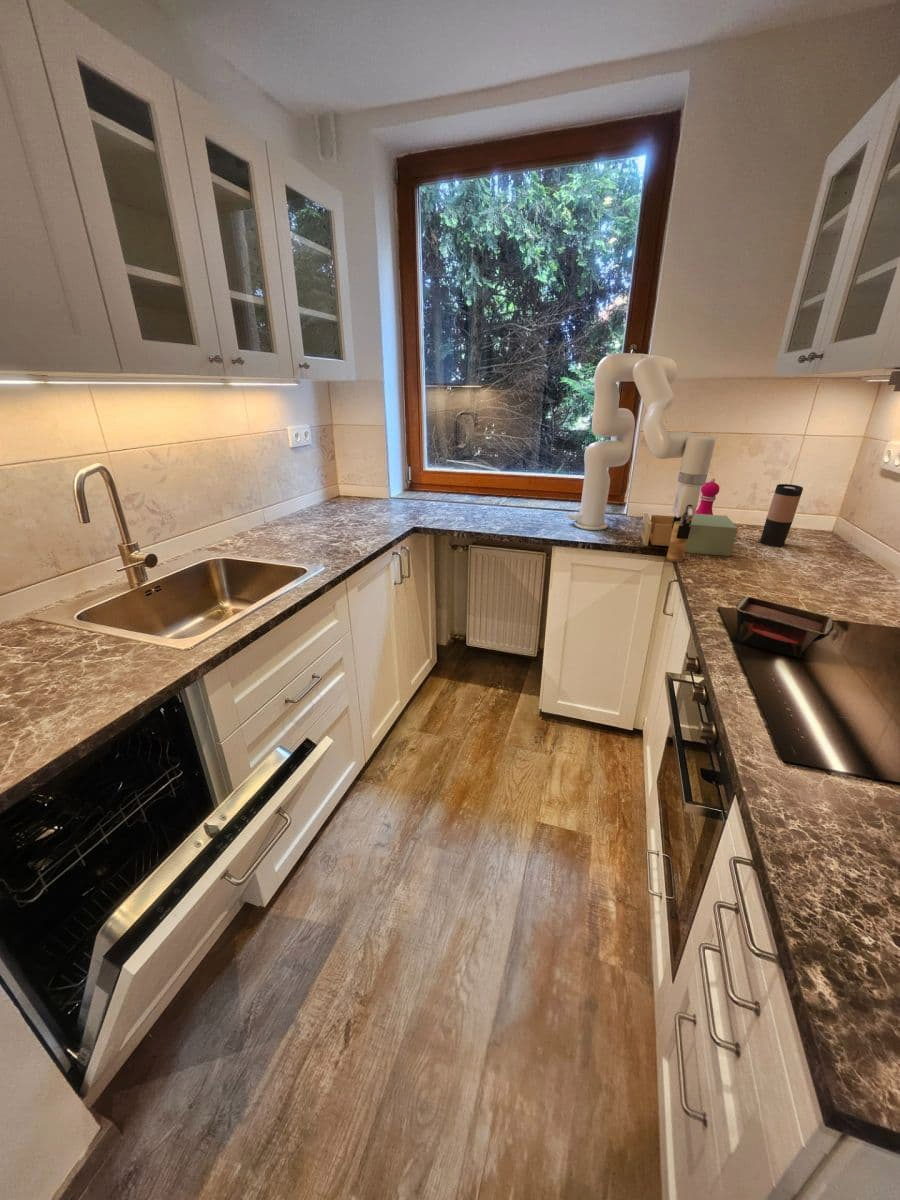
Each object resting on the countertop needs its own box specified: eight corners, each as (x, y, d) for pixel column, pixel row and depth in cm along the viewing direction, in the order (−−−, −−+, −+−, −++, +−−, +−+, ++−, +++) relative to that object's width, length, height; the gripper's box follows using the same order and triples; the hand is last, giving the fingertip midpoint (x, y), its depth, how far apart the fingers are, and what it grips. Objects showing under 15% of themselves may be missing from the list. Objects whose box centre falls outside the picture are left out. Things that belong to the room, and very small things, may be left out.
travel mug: (762, 538, 171) (780, 482, 162) (787, 543, 166) (806, 486, 157) (756, 543, 166) (773, 486, 158) (781, 548, 161) (800, 490, 153)
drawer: (630, 544, 162) (634, 522, 158) (628, 532, 173) (631, 512, 170) (686, 549, 158) (691, 526, 154) (679, 536, 169) (684, 515, 166)
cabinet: (682, 552, 158) (688, 524, 154) (675, 538, 171) (681, 512, 166) (729, 556, 155) (737, 528, 150) (719, 542, 167) (726, 515, 163)
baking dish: (745, 625, 117) (748, 588, 113) (835, 642, 104) (843, 602, 100) (723, 650, 108) (726, 611, 105) (819, 673, 96) (826, 629, 92)
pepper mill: (713, 534, 175) (728, 480, 166) (694, 534, 175) (707, 479, 166) (704, 528, 182) (718, 475, 173) (686, 528, 182) (698, 475, 173)
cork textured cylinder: (667, 561, 151) (675, 524, 145) (665, 555, 155) (673, 520, 149) (683, 562, 149) (692, 526, 144) (681, 557, 154) (689, 521, 148)
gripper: (674, 472, 149) (663, 524, 157) (683, 484, 134) (670, 541, 142) (699, 473, 147) (687, 526, 155) (712, 486, 132) (697, 543, 140)
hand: (679, 533), depth 148 cm, fingers open, 9 cm apart
